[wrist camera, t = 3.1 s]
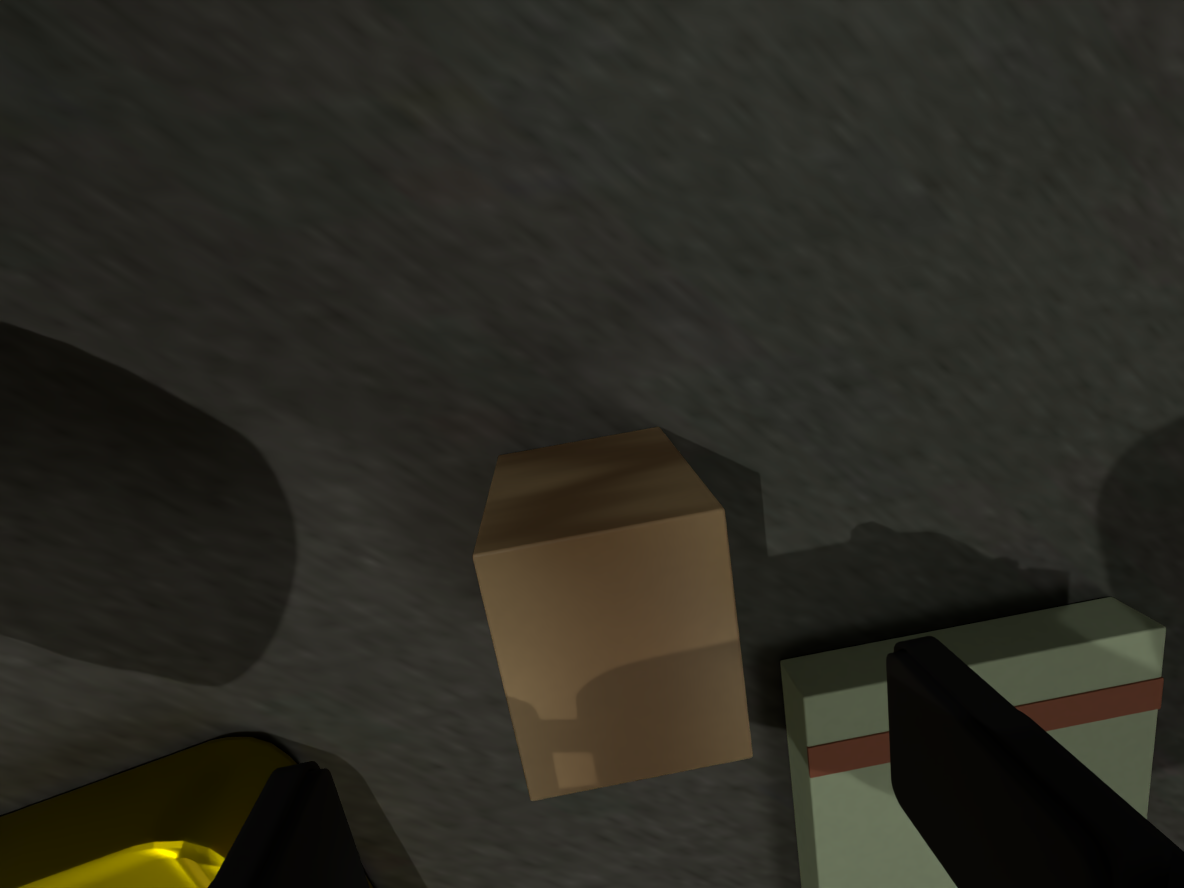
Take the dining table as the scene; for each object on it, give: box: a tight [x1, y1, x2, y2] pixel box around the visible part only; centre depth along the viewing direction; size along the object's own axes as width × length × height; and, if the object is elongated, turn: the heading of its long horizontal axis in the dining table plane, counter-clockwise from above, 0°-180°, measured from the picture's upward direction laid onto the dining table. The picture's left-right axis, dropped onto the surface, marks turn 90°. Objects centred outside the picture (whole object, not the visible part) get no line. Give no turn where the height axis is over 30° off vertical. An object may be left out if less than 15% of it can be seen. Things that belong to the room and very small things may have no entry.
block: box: [473, 427, 753, 801], centre depth 16 cm, size 5×6×7 cm
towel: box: [780, 597, 1166, 888], centre depth 22 cm, size 12×16×2 cm
